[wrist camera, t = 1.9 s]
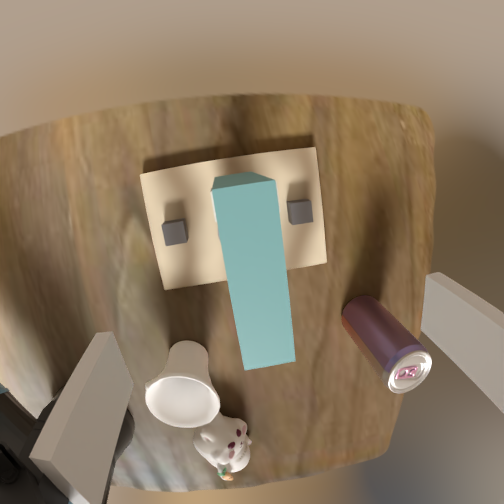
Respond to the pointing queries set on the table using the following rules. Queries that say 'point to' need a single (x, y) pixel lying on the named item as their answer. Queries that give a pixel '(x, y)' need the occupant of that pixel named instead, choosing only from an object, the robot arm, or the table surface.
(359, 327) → the beverage can
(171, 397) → the cup
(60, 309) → the table surface
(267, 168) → the post base
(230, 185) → the teal rectangular panel
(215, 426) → the white ceramic figurine
